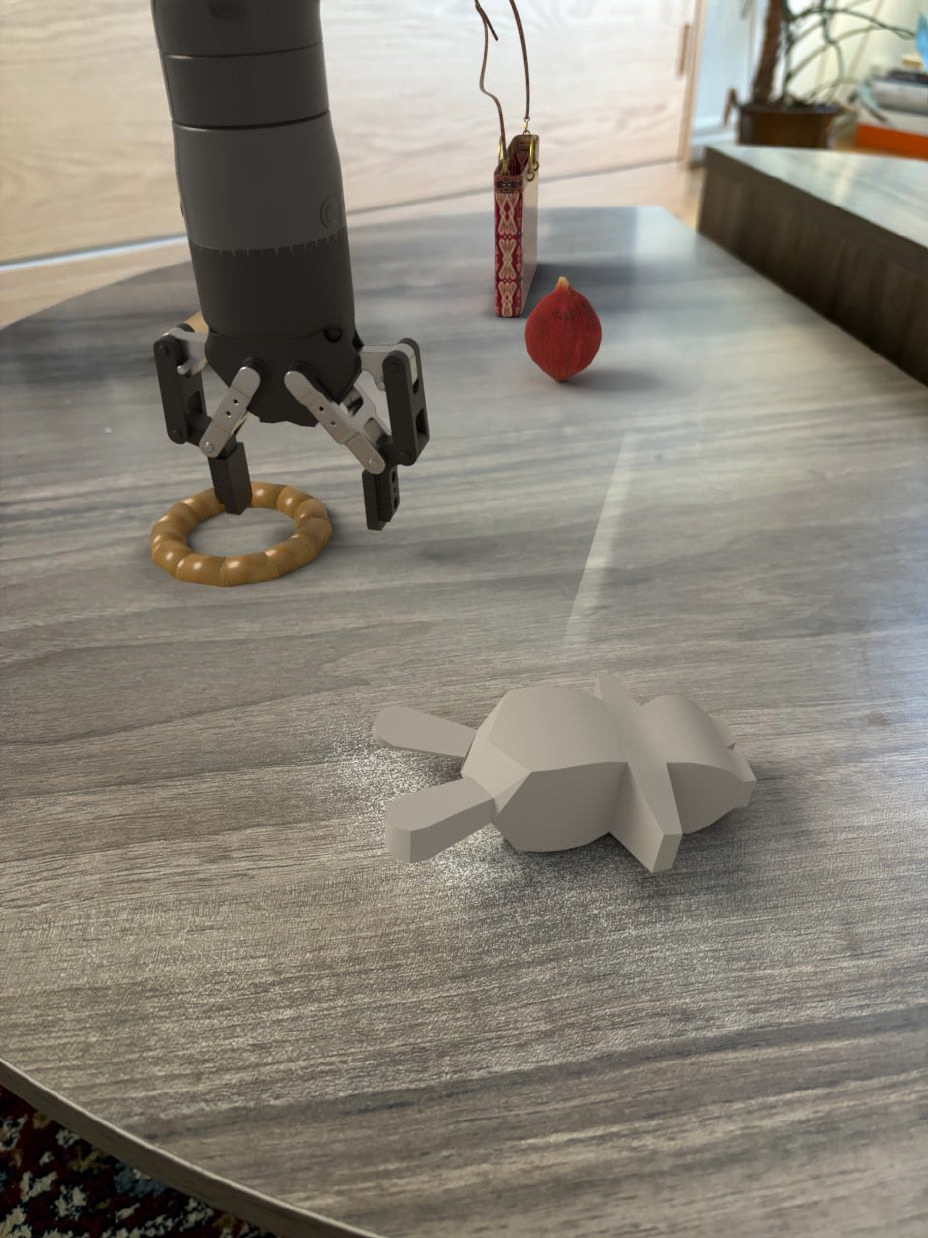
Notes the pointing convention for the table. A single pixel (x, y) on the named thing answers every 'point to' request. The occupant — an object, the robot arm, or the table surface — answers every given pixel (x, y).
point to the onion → (563, 332)
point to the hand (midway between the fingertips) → (308, 515)
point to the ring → (245, 568)
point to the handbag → (514, 200)
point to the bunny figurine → (569, 773)
